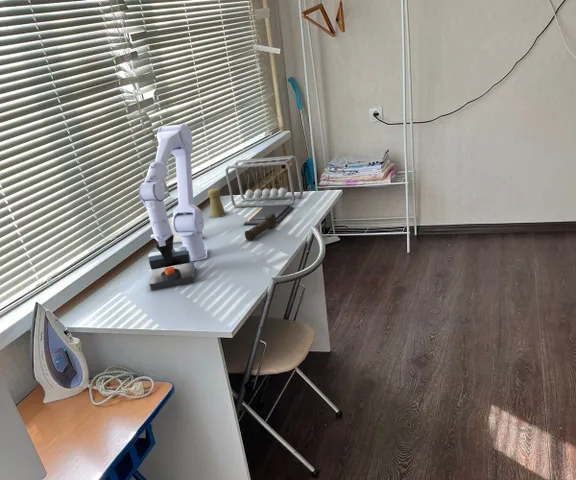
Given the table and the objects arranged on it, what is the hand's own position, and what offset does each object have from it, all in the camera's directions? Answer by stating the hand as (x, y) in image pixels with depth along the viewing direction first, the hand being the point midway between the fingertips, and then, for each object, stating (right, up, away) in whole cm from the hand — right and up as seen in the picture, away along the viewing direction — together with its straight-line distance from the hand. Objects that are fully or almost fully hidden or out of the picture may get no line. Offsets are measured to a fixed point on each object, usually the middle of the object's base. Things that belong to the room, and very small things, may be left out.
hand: (170, 260), depth 201 cm
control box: (+1, -6, 0) cm, 7 cm away
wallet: (+32, +27, +45) cm, 61 cm away
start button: (+1, -5, -4) cm, 7 cm away
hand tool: (+29, +16, +29) cm, 45 cm away
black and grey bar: (0, -1, +1) cm, 1 cm away
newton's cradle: (+30, +38, +63) cm, 80 cm away
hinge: (-2, +16, +38) cm, 41 cm away
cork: (+9, +31, +59) cm, 67 cm away
